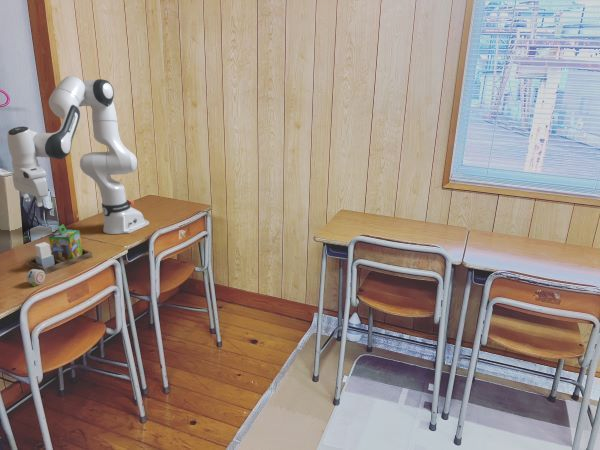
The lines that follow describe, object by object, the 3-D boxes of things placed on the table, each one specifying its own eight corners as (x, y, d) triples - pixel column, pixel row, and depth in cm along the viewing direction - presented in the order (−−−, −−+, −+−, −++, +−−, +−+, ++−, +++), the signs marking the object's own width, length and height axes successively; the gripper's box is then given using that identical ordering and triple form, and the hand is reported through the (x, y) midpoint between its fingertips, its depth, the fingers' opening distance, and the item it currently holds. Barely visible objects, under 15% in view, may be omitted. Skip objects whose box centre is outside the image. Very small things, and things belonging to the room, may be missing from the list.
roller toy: (26, 286, 190) (23, 272, 188) (38, 279, 196) (35, 265, 194) (36, 287, 189) (33, 274, 187) (47, 280, 195) (45, 267, 193)
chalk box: (73, 262, 209) (67, 230, 204) (52, 262, 210) (46, 229, 205) (84, 253, 218) (79, 222, 213) (64, 253, 219) (58, 221, 213)
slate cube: (37, 267, 206) (35, 256, 204) (49, 263, 210) (47, 252, 208) (43, 270, 203) (41, 259, 201) (55, 266, 207) (53, 255, 205)
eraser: (37, 256, 204) (34, 244, 203) (46, 253, 207) (44, 241, 206) (41, 258, 202) (39, 247, 200) (51, 255, 205) (49, 244, 203)
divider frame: (75, 249, 223) (74, 245, 222) (92, 257, 215) (91, 252, 215) (28, 265, 207) (27, 261, 206) (45, 274, 200) (44, 269, 199)
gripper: (5, 167, 195) (12, 201, 200) (31, 175, 184) (38, 211, 189) (21, 164, 200) (28, 197, 205) (48, 172, 189) (54, 206, 194)
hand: (33, 203), depth 197 cm, fingers open, 8 cm apart
